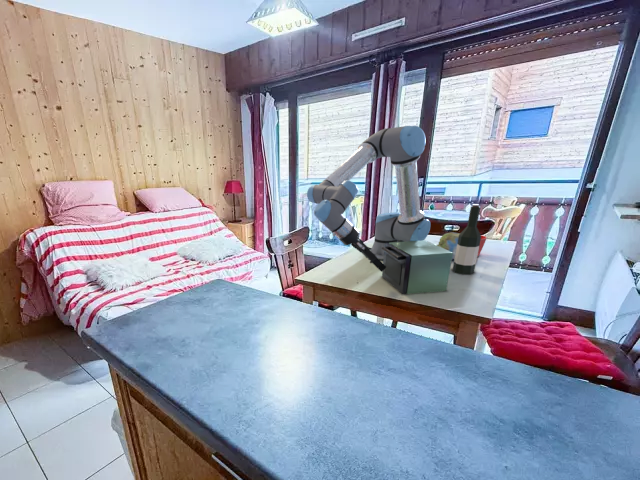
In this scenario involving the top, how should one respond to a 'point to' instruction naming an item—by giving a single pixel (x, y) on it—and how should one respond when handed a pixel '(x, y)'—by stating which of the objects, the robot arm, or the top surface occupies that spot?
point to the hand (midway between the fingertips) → (383, 268)
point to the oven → (426, 266)
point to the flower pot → (481, 244)
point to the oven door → (396, 267)
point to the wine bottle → (468, 244)
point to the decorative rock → (449, 242)
